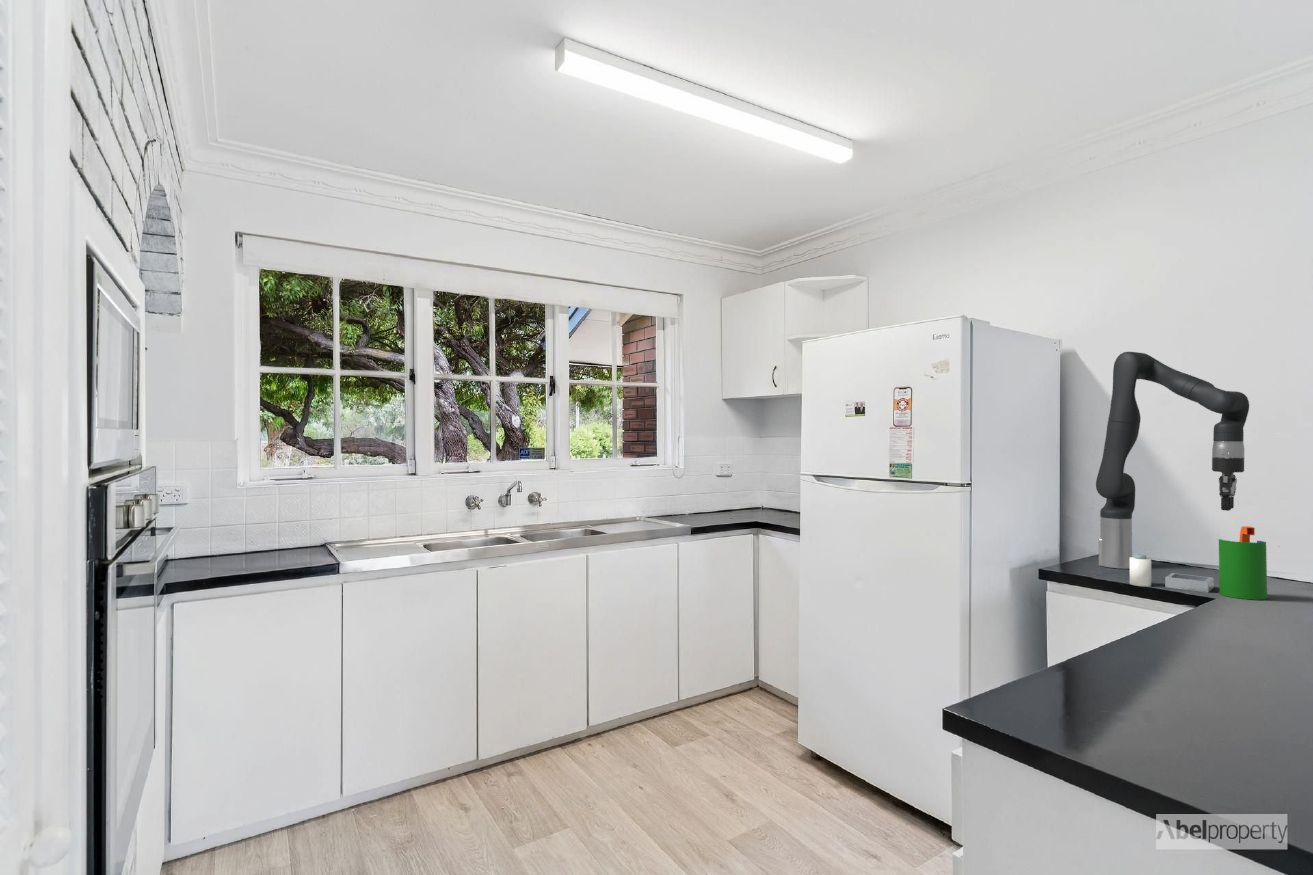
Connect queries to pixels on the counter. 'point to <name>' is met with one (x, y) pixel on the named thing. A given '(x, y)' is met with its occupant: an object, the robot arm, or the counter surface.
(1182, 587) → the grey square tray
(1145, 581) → the white cylinder
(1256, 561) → the green cylindrical container
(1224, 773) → the counter surface
